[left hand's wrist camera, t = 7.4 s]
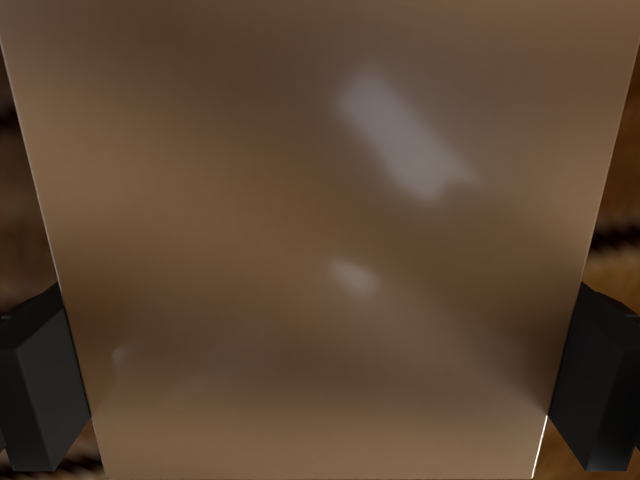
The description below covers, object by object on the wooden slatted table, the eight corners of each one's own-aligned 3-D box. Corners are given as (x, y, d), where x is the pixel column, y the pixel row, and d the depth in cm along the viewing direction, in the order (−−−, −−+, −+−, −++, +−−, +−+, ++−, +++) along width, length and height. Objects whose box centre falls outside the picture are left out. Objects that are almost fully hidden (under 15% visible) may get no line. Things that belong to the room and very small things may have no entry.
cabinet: (141, -291, 12) (-332, -1288, 3) (497, -289, 12) (970, -1279, 3) (204, 295, 18) (104, 481, 10) (433, 295, 18) (533, 480, 10)
